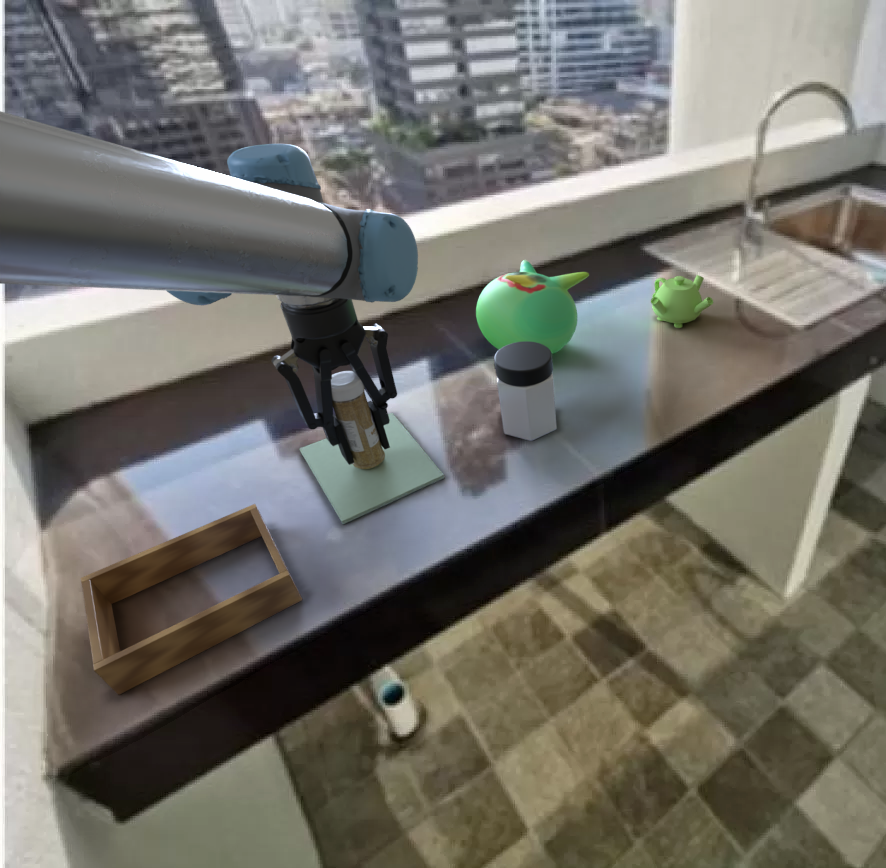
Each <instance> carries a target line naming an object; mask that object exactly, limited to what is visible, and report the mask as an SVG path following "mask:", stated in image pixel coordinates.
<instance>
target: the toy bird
mask: <svg viewBox="0 0 886 868" xmlns="http://www.w3.org/2000/svg"><path fill="white" fill-rule="evenodd" d="M589 276H590V273H589V272H588V271H579V272H572V273H565V274H561V275H555V276H547V275H545V274H542V273H538V272H537V271H536V269H535V268H534V266H533V265H532V263H531V262H530V261H528V260H527V259H523V260H522V261H521V263H520V266H519V271H513V272H508V273H505V274H502V275H500V276H497V277H496V278H493V280H492V281H490V282H489V283H487V285H486V286H485V287H484V288H483V289H482V291H481V293H480V294H479V297H478V299H477V302H476V307H475V317H476V322H477V326H478V328H479V330H480V332H481V334H482V336H483V337H484V338H485V339H486V340H487V342H488V343H489V344H491V345H492V346H493V347H494V348H496V349H497V350H499V349H501V348H502V347H504V346H506V345H508V344H511V343H515V342H523V341H529V342H536V343H540V344H543V345H545V346H546V347H548V348H549V349H550V351H551V353H552V355H554V354H556V353H557V352H559V351H561V350H562V349H563V348H565V346H566V345H568V343H569V342H570V340H571V339H572V338H573V336H574V334H575V331H576V329H577V325H578V309H577V305H576V303H575V300H574V298H573V296H572V295H571V294H570V292H569V290H570V289H571V288H573V287H574V286H576V285H578V284H579V283H581V282H583V281H584V280H586V279H587V278H588V277H589Z"/></svg>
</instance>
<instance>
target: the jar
mask: <svg viewBox="0 0 886 868" xmlns="http://www.w3.org/2000/svg"><path fill="white" fill-rule="evenodd" d="M493 361H494V362H493V367H494V370H495V376H496V386H497V393H498V400H499V409H500V414H501V421H502V422H501V423H502V428H503V433H504V434H505V435H506V436H510V437H514V438H519V439H522V440H526V441H528V442H529V441H530V442H532V441H534V440H538V439H539V438H541V437H543V436H545V435H548V434H549V433H552V432H554V431H556V430H557V428H558V426H557V413H556V399H555V398H556V397H555V385H554V373H553V371H554V365H553V354H552V353H551V351H550V349H549V348H548V347H546V346H545V345H543V344H540V343H536V342H529V341H523V342H515V343H511V344H508V345H506V346H504V347H502V348H501V349H497V351H496V352H495V354H494V356H493Z"/></svg>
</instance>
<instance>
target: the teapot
mask: <svg viewBox="0 0 886 868" xmlns="http://www.w3.org/2000/svg"><path fill="white" fill-rule="evenodd" d="M703 281H704V277H703V276H701V275H699V274H696V276H695V278H694V280H693V281H692V280H691V279H689V278H685V276H682V275H677V276H674V277H671V278H668V279H666V278H665V277H658V278H656V279H655V281H654V284H653V285H654V293H653V294H652V295H651V296H652V298H651V299H650V303H651V307H652V311H653V313H654V314H655V315H656V316H657V317H656V320H658V321H660V322H663V321H664V322H667V323H670V324H673V327H674V328H676V329H680V328H683V325H684V324H686V323H687V324H688V323H690V322H692V321H695V320H696V319H697V318H698V317H699V316H700V315H701V314H702V312H703V311H704V310H706V309H708V308H709V307H710V306H712V305H713V304H714V299H713V298H712V297H710V296H707V297H705V298H704V299H703V298H702V295H701V293H700V289H701V286H702V285H703ZM660 283H662V284H661V285H660Z"/></svg>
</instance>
